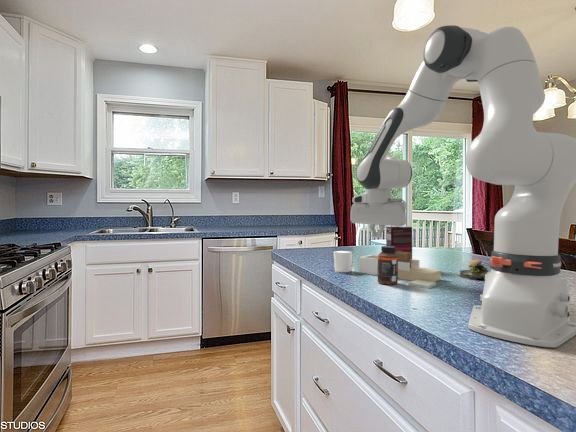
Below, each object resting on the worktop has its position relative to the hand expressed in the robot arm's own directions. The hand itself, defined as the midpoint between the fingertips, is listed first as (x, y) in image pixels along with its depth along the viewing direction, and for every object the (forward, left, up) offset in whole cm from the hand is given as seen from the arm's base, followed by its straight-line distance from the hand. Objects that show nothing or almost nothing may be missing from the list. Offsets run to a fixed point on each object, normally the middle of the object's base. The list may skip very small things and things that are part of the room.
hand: (376, 237), depth 124 cm
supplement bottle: (-13, -11, -13) cm, 21 cm away
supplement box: (+14, -2, -13) cm, 19 cm away
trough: (0, -8, -12) cm, 15 cm away
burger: (+17, -29, -13) cm, 36 cm away
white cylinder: (-6, +10, -13) cm, 17 cm away
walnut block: (0, -9, -9) cm, 13 cm away
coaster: (-8, -20, -12) cm, 25 cm away
